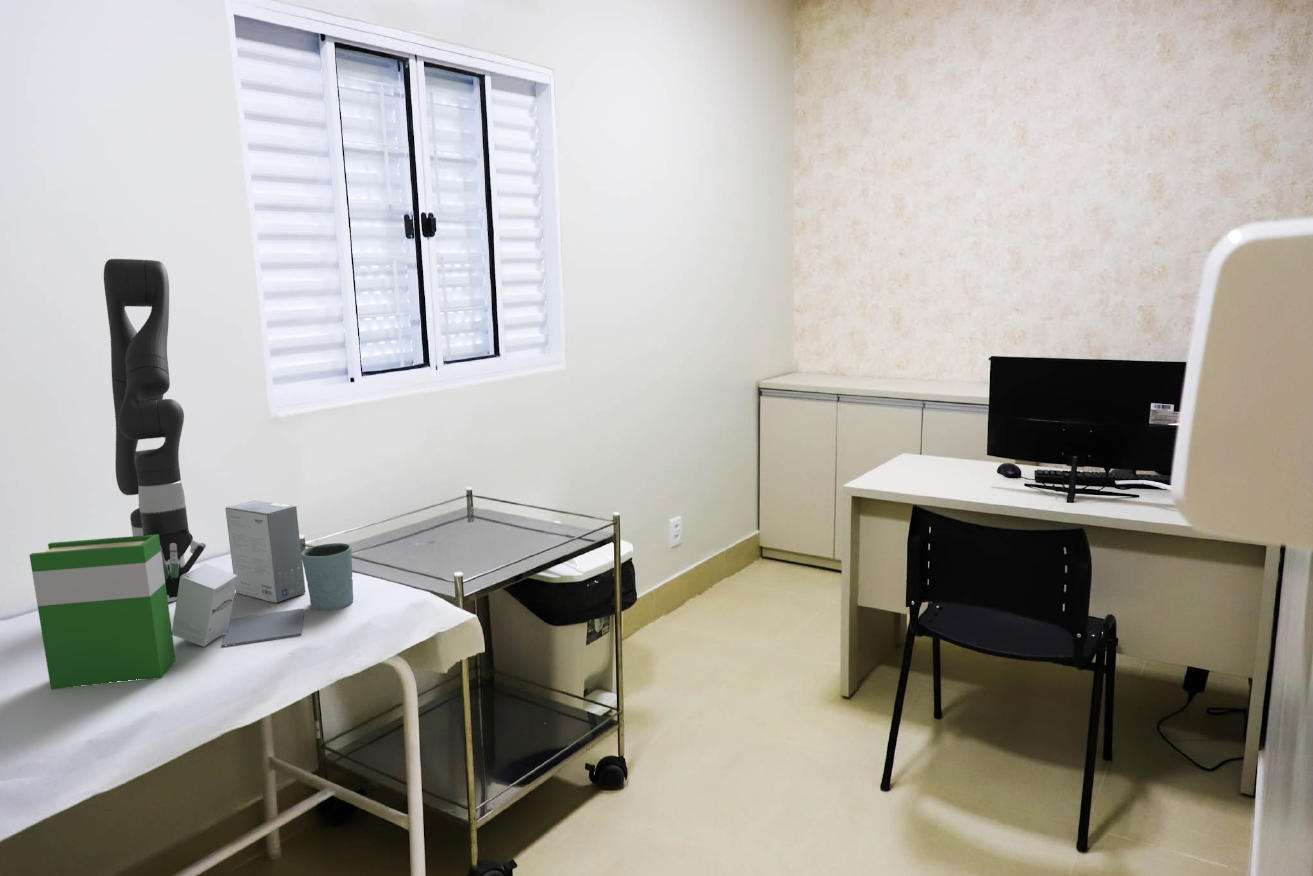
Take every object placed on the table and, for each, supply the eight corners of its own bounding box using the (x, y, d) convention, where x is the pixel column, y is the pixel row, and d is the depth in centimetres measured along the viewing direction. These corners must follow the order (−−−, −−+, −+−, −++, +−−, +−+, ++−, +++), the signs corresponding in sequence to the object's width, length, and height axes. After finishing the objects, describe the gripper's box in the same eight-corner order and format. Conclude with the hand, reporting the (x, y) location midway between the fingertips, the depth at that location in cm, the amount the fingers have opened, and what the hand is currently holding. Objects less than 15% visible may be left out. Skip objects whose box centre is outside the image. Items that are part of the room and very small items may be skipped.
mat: (230, 620, 185) (230, 618, 185) (303, 610, 190) (303, 608, 190) (222, 647, 171) (221, 645, 171) (301, 635, 176) (300, 633, 176)
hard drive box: (307, 593, 200) (298, 506, 197) (276, 604, 194) (266, 514, 191) (264, 583, 209) (254, 499, 205) (233, 593, 202) (223, 506, 199)
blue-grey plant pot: (328, 614, 187) (323, 558, 185) (296, 607, 192) (290, 553, 190) (366, 599, 195) (361, 545, 193) (334, 592, 200) (329, 540, 198)
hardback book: (50, 689, 155) (29, 554, 151) (70, 671, 163) (50, 542, 159) (161, 678, 158) (143, 545, 154) (175, 661, 166) (158, 534, 162)
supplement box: (204, 648, 171) (213, 589, 168) (169, 634, 172) (178, 576, 169) (229, 631, 178) (238, 574, 175) (196, 618, 179) (205, 562, 176)
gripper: (205, 499, 175) (215, 586, 177) (128, 507, 171) (139, 596, 173) (198, 506, 167) (209, 597, 170) (117, 514, 163) (130, 607, 166)
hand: (174, 596), depth 171 cm, fingers closed
